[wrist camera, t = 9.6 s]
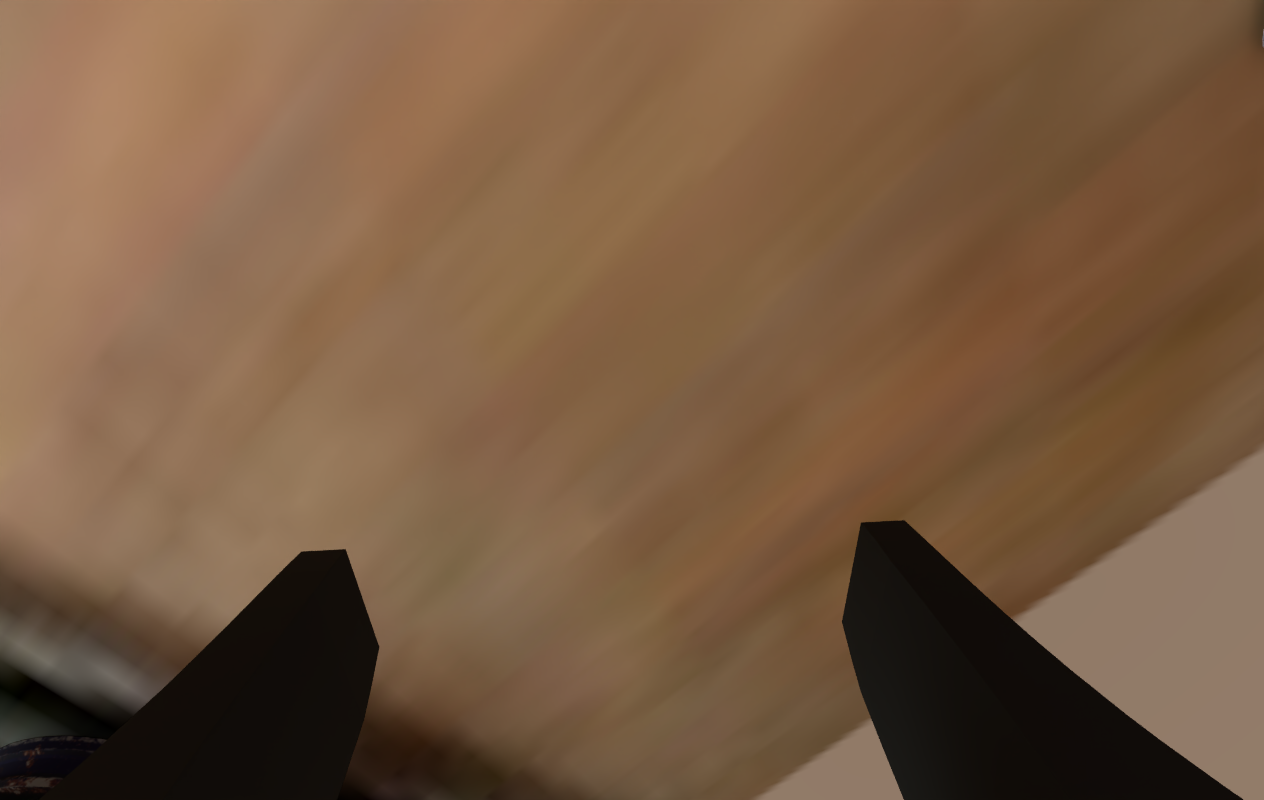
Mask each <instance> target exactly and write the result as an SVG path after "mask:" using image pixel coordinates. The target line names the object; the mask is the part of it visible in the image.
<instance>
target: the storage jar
mask: <svg viewBox="0 0 1264 800" xmlns="http://www.w3.org/2000/svg"><path fill="white" fill-rule="evenodd" d="M105 741H106V740H105V739H97V738H89V737H76V736H52V737H39V738H33V739H26V740H22V741H19V742H15V743H11V744H9V745H6V746H4V747H2V748H0V800H39V799H40V798H41V797H42V796H44V795H45V794H46V793H47V792H48V791H50V790H51V789H52V788H53V787H54V786H55V785H57V784H58V783H59V782H60V781H61V780H63V779H64V778H65V777H66V776H67V775H68V774H69V773H71V772H72V771H73V770H74V769H75V768H76V767H78V766H79V765H80V764H81V763H82V762H83V761H84V760H86V759H87V758H88V757H89V756H90V755H91V754H92V753H93V752H94V751H95V750H97V749H98V748H99V747H100V746H101V745H102V744H103V743H104V742H105Z"/></svg>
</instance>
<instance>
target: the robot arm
mask: <svg viewBox="0 0 1264 800" xmlns="http://www.w3.org/2000/svg"><path fill="white" fill-rule="evenodd" d="M1262 39H1263V47H1264V31H1263V37H1262ZM842 624H843V628H844V631H845V635H846V639H847V643H848V647H849V651H850V655H851V658H852V662H853V666H854V669H855V673H856V676H857V680H858V683H859V687H860V690H861V693H862V696H863V698H864V701H865V704H866V706H867V709H868V711H869V714H870V716H871V719H872V721H873V724H874V726H875V729H876V731H877V734H878V736H879V739H880V742H881V744H882V747H883V749H884V751H885V754H886V756H887V759H888V761H889V764H890V766H891V769H892V771H893V774H894V776H895V779H896V781H897V784H898V786H899V789H900V791H901V794H902V796H903V799H904V800H1243V799H1242V798H1240V797H1239V796H1238V795H1236V794H1234V793H1233V792H1232V791H1230V790H1229V789H1227V788H1226V787H1225V786H1223V785H1222V784H1220V783H1219V782H1218V781H1216V780H1215V779H1213V778H1212V777H1210V776H1209V775H1208V774H1206V773H1205V772H1204V771H1202V770H1201V769H1199V768H1198V767H1197V766H1195V765H1194V764H1193V763H1191V762H1190V761H1188V760H1187V759H1186V758H1184V757H1183V756H1181V755H1180V754H1179V753H1177V752H1176V751H1175V750H1173V749H1172V748H1170V747H1169V746H1167V745H1166V744H1165V743H1163V742H1162V741H1161V740H1159V739H1158V738H1157V737H1155V736H1154V735H1153V734H1151V733H1150V732H1149V731H1147V730H1146V729H1145V728H1143V727H1142V726H1141V725H1139V724H1138V723H1137V722H1136V721H1134V720H1133V719H1132V718H1130V717H1129V716H1128V715H1126V714H1125V713H1124V712H1123V711H1121V710H1120V709H1119V708H1118V707H1116V706H1115V705H1114V704H1112V703H1111V702H1110V701H1109V700H1107V699H1106V698H1105V697H1104V696H1102V695H1101V694H1100V693H1099V692H1098V691H1096V690H1095V689H1094V688H1093V687H1091V686H1090V685H1089V684H1088V683H1086V682H1085V681H1084V680H1083V679H1081V678H1080V677H1079V676H1078V675H1076V674H1075V673H1074V672H1073V671H1071V670H1070V669H1069V668H1068V667H1067V666H1065V665H1064V664H1063V663H1062V662H1061V661H1060V660H1058V659H1057V658H1056V657H1055V656H1054V655H1052V654H1051V653H1050V652H1049V651H1048V650H1047V649H1045V648H1044V647H1043V646H1042V645H1041V644H1039V643H1038V642H1037V641H1036V640H1035V639H1034V638H1033V637H1031V636H1030V635H1029V634H1028V633H1027V632H1026V631H1024V630H1023V629H1022V628H1021V627H1020V626H1019V625H1018V624H1017V623H1015V622H1014V621H1013V620H1012V619H1011V618H1010V617H1009V616H1008V615H1006V614H1005V613H1004V612H1003V611H1002V610H1001V609H1000V608H999V607H997V606H996V605H995V604H994V603H993V602H992V601H991V600H990V599H989V598H988V597H986V596H985V595H984V594H983V593H982V592H981V591H980V590H979V589H978V588H977V587H976V586H974V585H973V584H972V583H971V582H970V581H969V580H968V579H967V578H966V577H965V576H964V575H963V574H961V573H960V572H959V571H958V570H957V569H956V568H955V567H954V566H953V565H952V564H951V563H950V562H949V561H948V560H946V559H945V558H944V557H943V556H942V555H941V554H940V553H939V552H938V551H937V550H936V549H935V548H934V547H933V546H932V545H930V544H929V543H928V542H927V541H926V540H925V539H924V538H923V537H922V536H921V535H920V534H919V533H918V532H916V531H915V530H914V529H913V528H912V527H911V526H910V525H909V524H908V523H907V522H906V521H904V520H902V521H882V522H863V523H861V526H860V531H859V536H858V541H857V547H856V552H855V557H854V562H853V567H852V573H851V578H850V583H849V588H848V593H847V599H846V604H845V609H844V614H843V620H842ZM378 651H379V645H378V642H377V639H376V636H375V633H374V630H373V628H372V625H371V622H370V619H369V616H368V613H367V610H366V607H365V604H364V601H363V599H362V596H361V593H360V590H359V587H358V584H357V581H356V578H355V575H354V572H353V569H352V567H351V564H350V561H349V558H348V555H347V552H346V549H342V550H323V551H304V552H301V553H300V554H299V555H298V556H297V557H295V558H294V559H293V560H292V561H291V562H290V563H289V564H288V565H287V566H286V567H285V568H284V569H283V570H282V571H281V572H280V573H279V574H278V575H277V576H276V577H275V578H274V579H273V580H272V581H271V582H270V583H269V584H268V585H267V586H266V587H265V588H264V589H263V590H262V591H261V592H260V593H259V594H258V595H257V596H256V597H255V598H254V599H253V600H252V601H251V602H250V603H249V604H248V605H247V606H246V607H245V608H244V609H243V610H242V611H241V612H240V613H239V614H238V616H237V617H236V618H235V619H234V620H233V621H232V622H231V623H230V624H229V625H228V626H227V627H226V628H225V629H224V630H223V631H222V632H221V633H219V634H218V635H217V636H216V637H215V638H214V639H213V640H212V641H211V642H210V643H209V644H208V645H207V646H206V647H205V648H204V649H203V650H202V651H201V652H200V653H199V654H198V655H197V656H196V657H195V658H194V659H193V660H192V661H191V662H190V663H189V664H188V665H187V666H186V667H185V668H184V669H183V670H182V671H181V672H180V673H179V674H178V675H177V676H176V677H175V678H174V679H173V680H172V681H171V682H170V683H168V684H167V685H166V686H165V687H164V688H163V689H162V690H161V691H160V692H159V693H158V694H157V695H155V696H154V697H153V698H152V699H151V700H150V701H149V702H148V703H147V704H146V705H145V706H143V707H142V708H141V709H140V710H139V711H138V712H137V713H136V714H135V715H134V716H133V717H131V718H130V719H129V720H128V721H127V722H126V723H125V724H124V725H123V726H122V727H121V728H119V729H118V730H117V731H116V732H115V733H114V734H113V735H112V736H111V737H110V738H109V739H107V740H106V741H105V742H104V743H103V744H102V745H101V746H100V747H99V748H98V749H97V750H95V751H94V752H93V753H92V754H91V755H90V756H89V757H88V758H87V759H86V760H84V761H83V762H82V763H81V764H80V765H79V766H78V767H76V768H75V769H74V770H73V771H72V772H71V773H69V774H68V775H67V776H66V777H65V778H64V779H63V780H61V781H60V782H59V783H58V784H57V785H55V786H54V787H53V788H52V789H51V790H50V791H48V792H47V793H46V794H45V795H44V796H42V797H41V798H40V799H39V800H337V799H338V796H339V793H340V790H341V787H342V784H343V781H344V778H345V775H346V772H347V769H348V766H349V763H350V760H351V757H352V754H353V751H354V748H355V745H356V742H357V740H358V736H359V733H360V730H361V727H362V724H363V721H364V717H365V713H366V708H367V704H368V699H369V695H370V691H371V686H372V681H373V676H374V671H375V666H376V661H377V656H378Z"/></svg>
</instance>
